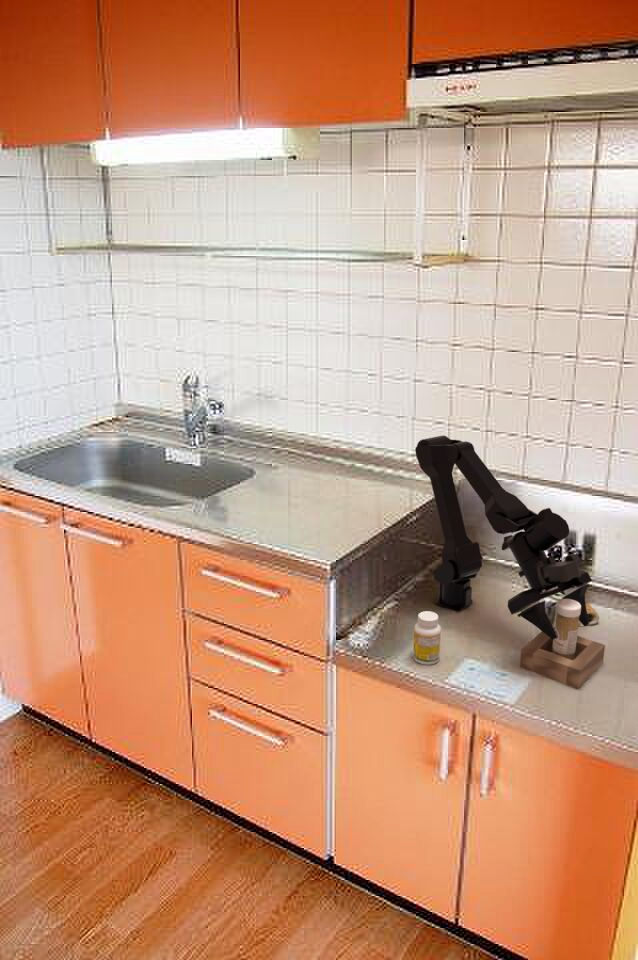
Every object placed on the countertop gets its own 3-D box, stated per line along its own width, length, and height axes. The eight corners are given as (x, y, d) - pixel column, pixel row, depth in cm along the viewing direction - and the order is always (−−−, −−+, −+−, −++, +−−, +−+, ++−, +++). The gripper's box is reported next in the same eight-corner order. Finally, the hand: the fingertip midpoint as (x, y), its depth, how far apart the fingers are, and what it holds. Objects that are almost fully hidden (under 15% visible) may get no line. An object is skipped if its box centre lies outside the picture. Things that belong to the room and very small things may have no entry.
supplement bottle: (435, 667, 156) (437, 624, 153) (409, 662, 158) (411, 619, 155) (442, 654, 160) (445, 612, 157) (417, 649, 162) (419, 607, 159)
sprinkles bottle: (545, 660, 158) (551, 600, 153) (563, 655, 160) (570, 596, 155) (561, 672, 154) (568, 610, 150) (579, 666, 156) (586, 605, 151)
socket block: (519, 667, 156) (521, 649, 154) (546, 642, 164) (548, 625, 163) (578, 689, 148) (580, 670, 147) (602, 662, 157) (605, 645, 156)
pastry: (553, 608, 179) (554, 593, 178) (580, 605, 180) (581, 590, 179) (574, 628, 170) (576, 613, 169) (602, 625, 172) (604, 610, 170)
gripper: (523, 554, 147) (564, 631, 142) (589, 532, 156) (630, 604, 151) (490, 577, 156) (528, 650, 150) (554, 555, 165) (592, 624, 160)
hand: (571, 631), depth 153 cm, fingers open, 9 cm apart
